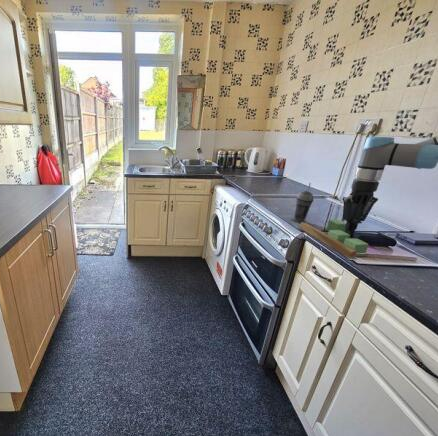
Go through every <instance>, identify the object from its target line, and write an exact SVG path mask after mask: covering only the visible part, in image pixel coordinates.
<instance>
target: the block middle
mask: <svg viewBox="0 0 438 436" xmlns="http://www.w3.org/2000/svg"><path fill="white" fill-rule="evenodd" d="M327 232H328V233H327V235H329V236H331V237H332V238H334V239H336V240H338V241H340V242H341V243H343V244H344V241H345V239H350V238H349V237H350V235H349V234H347V233H345V232H343V231H341V230H329V231H327Z"/></svg>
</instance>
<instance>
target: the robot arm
mask: <svg viewBox="0 0 438 436" xmlns="http://www.w3.org/2000/svg"><path fill="white" fill-rule="evenodd" d="M359 157H360V158H359V161H358V165H357V168H356V170H355V173H354V179H353V180H352V183H351V186H350V187H351V192H350V193H349V195H348V196H343V197H342V202H343V206H342V207H343V208H342V220H343V221H346V222H345V223H346V226H345V233H347V234H349V235H350V237H349V239H354V235H355V231H356V230H357V229H358V226H359V224H362V223H363V222H365V221H366V219H367V217H368V216H369V214H370V213H371V210H372V209H373V207H374V205H375V204H376V203H377V202H378V201H379V198H377V197H375V196H374V194H375V192H377V190H378V188H379V185H380V182H379V181H381V180H382V178H383V174H384V170H385V168H386V166H389V167H390V166H393V167H404V168H412V169H413V168H414V169H418V170H421V169H425V170H432V169H434V168H436V167H437V165H438V135H437V136H434V137H430V138H429V139H426V140H422V141H419V142H416V143H397V142H395V137H393V136H370V137H368V138H366V140H365V143H364V145H363V148H362V149H361V154H360V156H359Z"/></svg>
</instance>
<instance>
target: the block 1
mask: <svg viewBox="0 0 438 436" xmlns="http://www.w3.org/2000/svg"><path fill="white" fill-rule="evenodd" d="M346 223H347V222H344V220H343V221H342V220H340V219H329V220H328V223H327V226H326V231H327V232H329V230H341V231H343V232H345V226H346Z"/></svg>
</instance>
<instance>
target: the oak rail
mask: <svg viewBox="0 0 438 436" xmlns="http://www.w3.org/2000/svg"><path fill="white" fill-rule="evenodd" d="M299 229H300V230H301V231H303V232H305V233H307V234H309V235H310V236H311V237H313V238H314V239H317V240H318V241H320V242H321V243H323V244H324V245H326V246H328V247H329V248H331V249H333V250H335V252H338V253H340V254H341V255H343V256H344V257H346V258H348V259H351V260H352V259H355V258H356V257H357V256H356V253H357V251H356V250H354V249H352V248H350V247H349V246H347V245H345V244H343V243H341V242H340V241H338V240H336V239H334V238H332V237H331V236H329V235H328V233H325V232H323V231H321V230H320V229H318V228H316V227H314V226H312V225H311V224H310V223H307V222H305V221H304V222H301V223H300V225H299Z"/></svg>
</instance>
